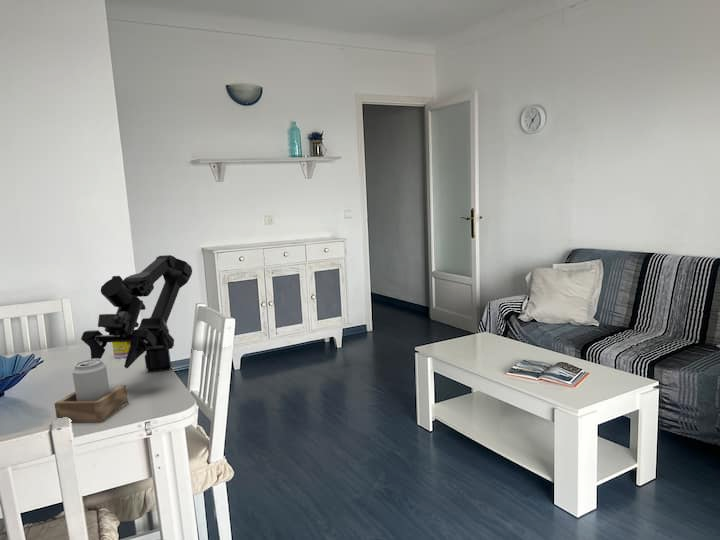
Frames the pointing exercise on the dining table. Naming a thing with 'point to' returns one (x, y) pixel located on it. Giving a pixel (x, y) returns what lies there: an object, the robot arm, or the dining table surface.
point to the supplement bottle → (121, 349)
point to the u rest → (91, 406)
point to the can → (90, 380)
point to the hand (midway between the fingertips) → (109, 368)
